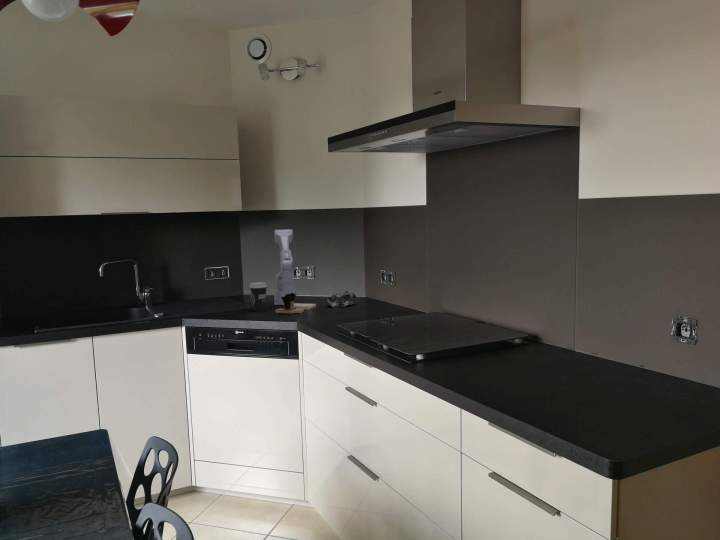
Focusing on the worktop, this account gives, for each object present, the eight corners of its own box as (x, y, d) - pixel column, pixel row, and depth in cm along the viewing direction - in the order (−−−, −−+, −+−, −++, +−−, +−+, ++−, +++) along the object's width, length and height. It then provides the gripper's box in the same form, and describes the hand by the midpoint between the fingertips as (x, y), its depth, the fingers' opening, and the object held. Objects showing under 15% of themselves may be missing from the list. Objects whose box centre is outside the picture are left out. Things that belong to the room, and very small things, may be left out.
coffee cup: (255, 313, 301) (254, 284, 299) (247, 310, 308) (245, 283, 307) (271, 310, 307) (270, 282, 305) (262, 308, 314) (261, 281, 313)
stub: (275, 312, 300) (275, 301, 299) (279, 311, 304) (279, 299, 304) (299, 313, 295) (299, 302, 294) (303, 311, 300) (303, 300, 299)
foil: (327, 298, 322) (348, 284, 319) (337, 314, 321) (359, 300, 319) (322, 301, 310) (344, 286, 308) (333, 317, 310) (355, 303, 307)
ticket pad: (286, 308, 312) (285, 305, 311) (293, 305, 320) (292, 303, 320) (309, 309, 307) (309, 306, 307) (316, 306, 316) (316, 303, 316)
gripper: (289, 284, 289) (290, 311, 291) (300, 280, 303) (301, 306, 305) (276, 284, 292) (277, 310, 293) (288, 280, 305) (289, 305, 307)
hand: (289, 308), depth 299 cm, fingers closed on stub, 3 cm apart
